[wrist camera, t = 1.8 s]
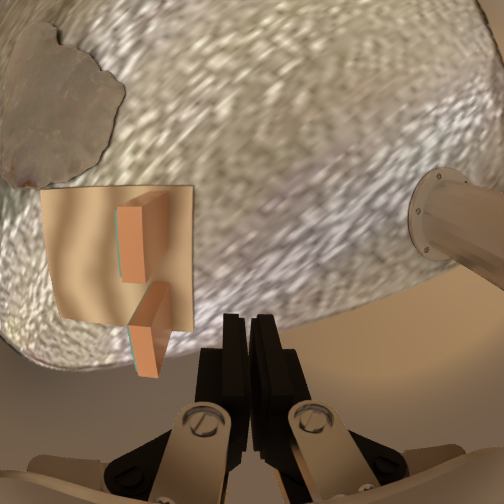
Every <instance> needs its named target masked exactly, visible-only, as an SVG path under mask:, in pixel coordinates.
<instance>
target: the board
mask: <svg viewBox="0 0 504 504" xmlns="http://www.w3.org/2000/svg"><path fill="white" fill-rule="evenodd" d="M149 191H168V249H167V251H166V252H165V254H164V256H163V257H162V259H161V260H160V262H159V264H158V265H157V267H156V268H155V270H154V272H153V273H152V275H151V276H150V278H149V280H148V281H147V283H146V284H136V283H122V277H120V274H119V265H118V254H117V242H116V226H115V209H117V206H119V205H121V204H123V203H125V202H127V201H129V200H131V199H133V198H136V197H138V196H140V195H142V194H144V193H146V192H149ZM193 196H194V186H183V185H122V186H89V187H69V188H53V189H43V190H41V208H42V220H43V230H44V238H45V246H46V252H47V259H48V265H49V270H50V276H51V281H52V286H53V290H54V295H55V299H56V304H57V308H58V312H59V315H60V317H61V318H67V319H73V320H80V321H86V322H93V323H101V324H109V325H117V326H126V327H127V325H128V323H129V321H130V319H131V317H132V315H133V313H134V312H135V310H136V308H137V306H138V304H139V303H140V301H141V299H142V297H143V295H144V294H145V292H146V290H147V288H148V287H149V285H151V283H152V281H154V282H170V296H171V311H172V324H173V328H172V331H183V332H193V331H194V308H193Z"/></svg>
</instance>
